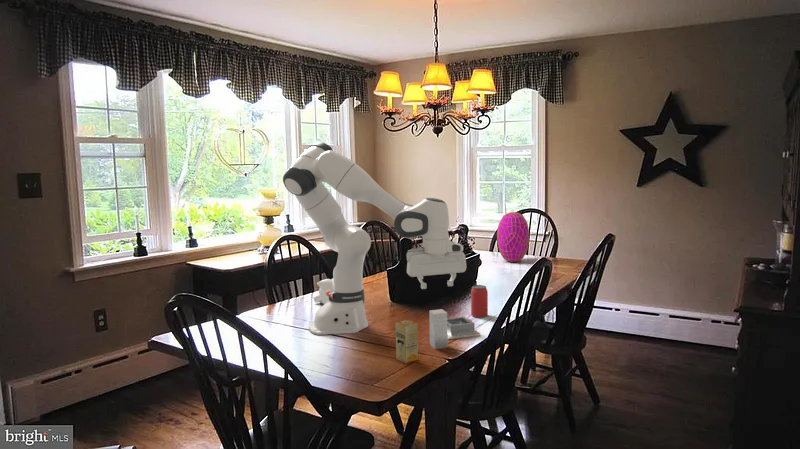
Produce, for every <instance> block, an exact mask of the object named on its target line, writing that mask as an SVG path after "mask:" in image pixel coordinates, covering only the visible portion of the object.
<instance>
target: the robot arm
mask: <svg viewBox="0 0 800 449" xmlns="http://www.w3.org/2000/svg"><path fill="white" fill-rule="evenodd" d="M282 182H283V185H284V187H285V189H286V190H287V191H288V192H289V193H290V194H292V195H294V196H295V197H296V199H297V201H298V203H299V204H300V206H301V207H302V208H303V210H304V211H305V212H306V213H307V215H308V216H309V217H310V219H311V220H312V221H313V222H314V224H315V226H316V227H317V229H318V230H319V232H320V233H321V236H322V238H323V240H324V241H323V242H324V243H325V245H326V246H327V247H328V248H329V249H330V250H331V251H334V252H336V253H337V254H338V255H337V261H336V264H335V266H334V268H333V271H332V276H333V277H332V279H333V282H334V290H333V291H329V290H327V292H326V295H327V296H329V301H328V302H327V303H326V304H323V305H322V306H321V307H319V308H318V309H317V310H316V312H315V314H314V320H313V321H314V322H311V323H309V324H308V331H309V332H311V334H314V335H317V336H319V335H320V336H321V335H337V334H339V335H340V334H354V333H359V331H361V330H363V329H365V328H367V327H368V326H369V323H368V320H367V317H366V309H365V300H366V299H365V290H364V288H363V287H364V285H363V284H364V283H363V281H364V279H363V269H364V263H365V258H366V255H367V253H368V252H369V250H370V248H371V246H372V245H371V244H372V241H371V240H372V239H371V236H370V234H369V233H368V232H367V231H366V230H365V229H363V228H361V227H360V226H355V225H351V224H349V222H348V221H347V220H346V219H345V216H344V215H343V213H342V207H341V205H340V204H339V202H338V201H337V200H336V199H335V197H334V196H333V194H331V192H330V190H328V188H327V187H326V185H325V184H324V183H326V184H328V186H330V187H331V188H333V189H334V190H335V191H336V192H338V193H339V194H341V195H342V196H345V197H346V198H348V199H350V200H352V201H355V202H365V203H367V204H371V205H373V206H375V207H377V208H378V209H380V210H381V211H382V212H384V213H385V214H387V215H388V216H390V217H391V218H392V219H393V220H394V221H393V226H394V227H393V228H394V230H395V232H396V234H398V235H399V236H400V237H402V238H406V239H413V238H416V237H420V236H421V237H422V247H418V248H411V249H409V250H407V252H406V261H407V262H406V263H407V264H406V274H407V275H408V276H409V277H410V278H414V277H417V280H418V281H419V283H420V288H421V290H426V289H427V288H428V287H427V283H426V282H424V281H423V280H424V277H427V276H436V275H437V276H438V275H446V274H447V275H450V278H449V280H446V282H447V283H446V284H447V287H453V286H454V281H455V279H456V278H457V273H459V274H460V273H465V272H466V270H467V259H466V255H465V253H464V245H463V244H460V243H458V242H454V241H452V240H450V234H449V226H450V217H449V208H448V204H447V203H446V202H445V201H444V200H442V199H440V198H434V197H426V198H424V199H423V200H421V201H420V202H419V203H416V204H415V205H412V204H407V203H405V202H402V201H401V200H399V199H398V198H397V197H395V196H394V195H392V194H391V193H389V192H388V191H386V190H385V189H384V188H382V186H380V185H379V183H377V181H376V180H374V178H372V176H371V175H370V174H368V172H366V171H365V170H364V169H363V168H362V167H361V166H360V165H358V164H357V163H356V162H355V161H352V160H351V159H350V158H348V157H346V156H344V155H343V154H341V153H339V152H337V151H334V149H333V148H332V147H331V146H330V145H328V144H327V143H326V142H323V141H317V142H315V143H313V144H311V145H309V146H308V148H307V149H306V150H304V151H303V152H302V153H301V154H300V155H299V156H298V157H297V158H296V159H295V161H293V163H291V166H290V167H287V170H286V171H285V172H284V175H283V177H282Z"/></svg>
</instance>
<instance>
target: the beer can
mask: <svg viewBox="0 0 800 449" xmlns="http://www.w3.org/2000/svg"><path fill="white" fill-rule="evenodd" d="M470 295H471V296H470V309H471V310H470V315H471V316H472V317H474V318H478V319H482V318H487V317H488V314H489V312H488V308H489V307H488V306H489V302H488V301H489V299H488V296H489V295H488V289H487V286H486V285H482V284H477V285H472V287H471V292H470Z"/></svg>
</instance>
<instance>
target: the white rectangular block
mask: <svg viewBox="0 0 800 449" xmlns="http://www.w3.org/2000/svg"><path fill="white" fill-rule="evenodd" d="M428 311H429V312H428V313H429V317H428V318H429V346H431V348H433V349H434V350H438V349H447V348H448V345H449V343H448V340H449V339H448V338H447V319H448V312H447V311H446V310H444V309H441V308H440V309H432V310H431V309H430V310H428Z"/></svg>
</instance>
